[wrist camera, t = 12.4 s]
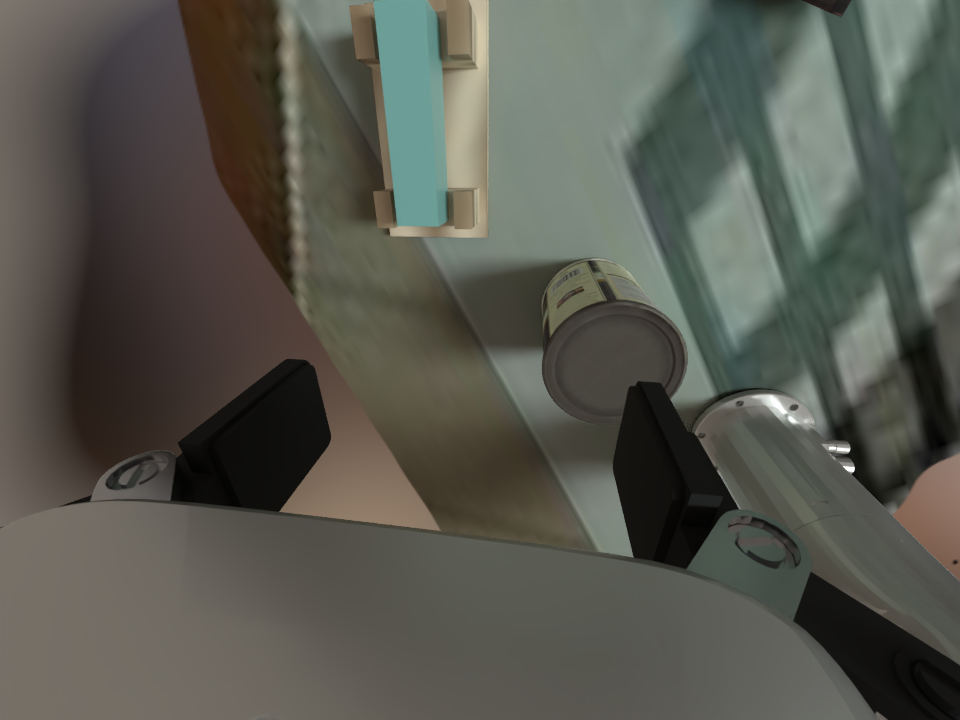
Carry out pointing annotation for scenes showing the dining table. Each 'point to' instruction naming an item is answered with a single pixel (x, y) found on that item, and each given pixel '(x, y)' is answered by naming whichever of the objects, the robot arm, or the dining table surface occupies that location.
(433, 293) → the dining table surface
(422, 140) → the teal rectangular block
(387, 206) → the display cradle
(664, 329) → the coffee can
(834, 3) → the diary
